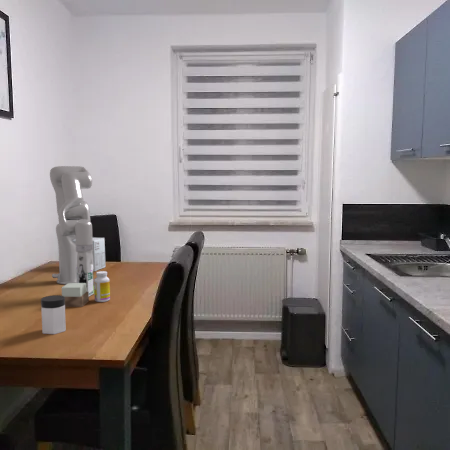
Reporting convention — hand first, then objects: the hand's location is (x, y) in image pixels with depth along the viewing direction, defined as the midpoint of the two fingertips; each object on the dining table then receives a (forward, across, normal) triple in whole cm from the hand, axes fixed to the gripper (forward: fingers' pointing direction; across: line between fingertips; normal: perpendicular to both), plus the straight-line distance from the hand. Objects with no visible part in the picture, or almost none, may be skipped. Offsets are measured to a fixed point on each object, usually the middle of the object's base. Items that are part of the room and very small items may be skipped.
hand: (85, 285), depth 214 cm
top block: (0, -14, 0) cm, 14 cm away
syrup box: (+5, 0, 0) cm, 5 cm away
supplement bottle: (+5, -8, -10) cm, 14 cm away
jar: (+5, -48, -4) cm, 48 cm away
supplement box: (+5, +59, +18) cm, 62 cm away
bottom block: (+5, -14, 0) cm, 15 cm away
